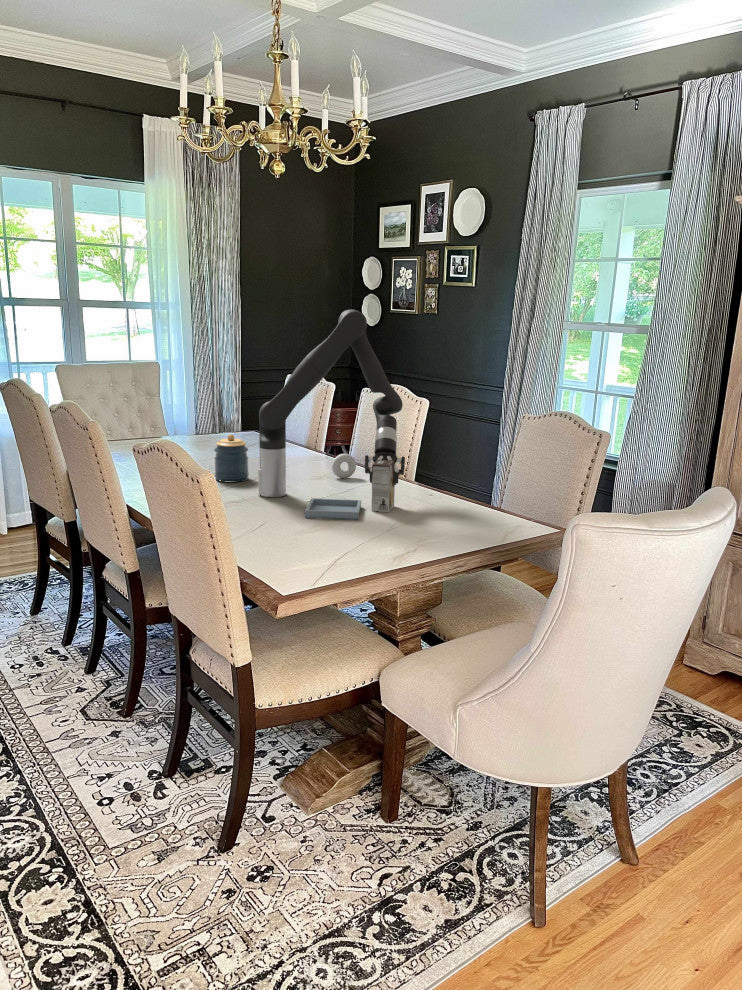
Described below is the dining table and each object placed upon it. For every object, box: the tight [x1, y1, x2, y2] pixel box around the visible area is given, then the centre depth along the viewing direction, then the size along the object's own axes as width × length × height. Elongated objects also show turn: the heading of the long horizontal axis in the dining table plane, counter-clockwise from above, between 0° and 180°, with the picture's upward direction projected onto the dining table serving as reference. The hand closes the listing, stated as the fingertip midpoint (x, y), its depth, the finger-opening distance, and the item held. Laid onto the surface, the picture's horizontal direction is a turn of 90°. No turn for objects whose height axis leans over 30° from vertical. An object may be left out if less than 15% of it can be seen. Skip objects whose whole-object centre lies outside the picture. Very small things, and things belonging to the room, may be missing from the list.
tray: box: [304, 497, 362, 521], centre depth 247 cm, size 17×16×2 cm
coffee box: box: [371, 460, 396, 513], centre depth 252 cm, size 9×6×16 cm
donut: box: [331, 453, 357, 479], centre depth 296 cm, size 10×4×10 cm, turn 109°
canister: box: [213, 433, 250, 482], centre depth 289 cm, size 13×13×18 cm
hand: (383, 483), depth 251 cm, fingers closed on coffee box, 7 cm apart
